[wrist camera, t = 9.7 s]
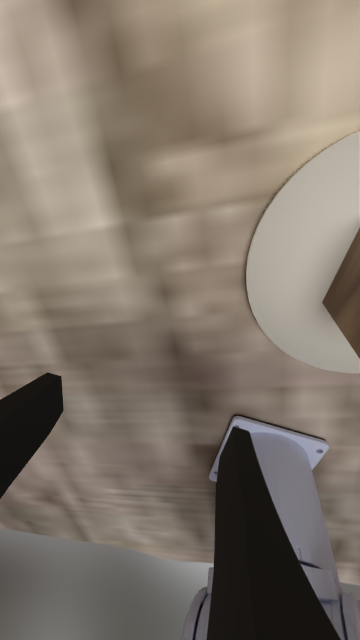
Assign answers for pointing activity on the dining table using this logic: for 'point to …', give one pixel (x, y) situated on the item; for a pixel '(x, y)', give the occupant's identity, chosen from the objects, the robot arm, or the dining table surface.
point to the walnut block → (347, 296)
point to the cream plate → (307, 257)
